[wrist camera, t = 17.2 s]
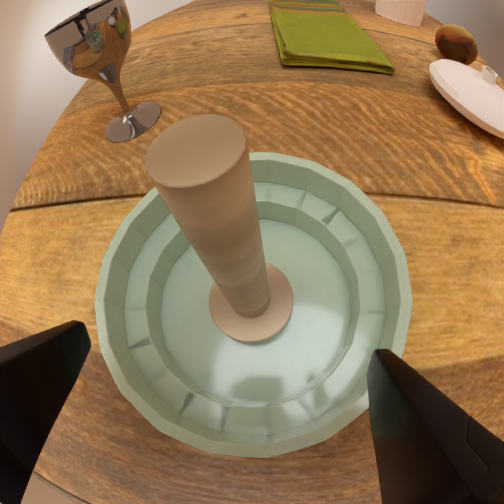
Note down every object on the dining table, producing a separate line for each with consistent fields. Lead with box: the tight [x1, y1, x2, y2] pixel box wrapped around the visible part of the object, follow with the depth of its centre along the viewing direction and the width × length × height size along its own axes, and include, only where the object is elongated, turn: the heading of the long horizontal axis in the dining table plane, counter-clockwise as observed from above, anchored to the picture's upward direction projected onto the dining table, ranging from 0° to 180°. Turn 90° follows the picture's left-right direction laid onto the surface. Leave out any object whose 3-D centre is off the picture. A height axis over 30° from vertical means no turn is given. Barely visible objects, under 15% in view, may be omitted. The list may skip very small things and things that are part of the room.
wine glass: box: [45, 0, 161, 142], centre depth 21 cm, size 8×8×15 cm
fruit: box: [435, 24, 478, 65], centre depth 28 cm, size 8×8×8 cm
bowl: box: [94, 152, 413, 458], centre depth 16 cm, size 16×16×5 cm
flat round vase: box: [429, 59, 504, 139], centre depth 22 cm, size 16×16×7 cm
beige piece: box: [145, 114, 293, 344], centre depth 11 cm, size 5×5×13 cm
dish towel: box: [269, 0, 395, 74], centre depth 35 cm, size 15×36×3 cm, turn 0°
